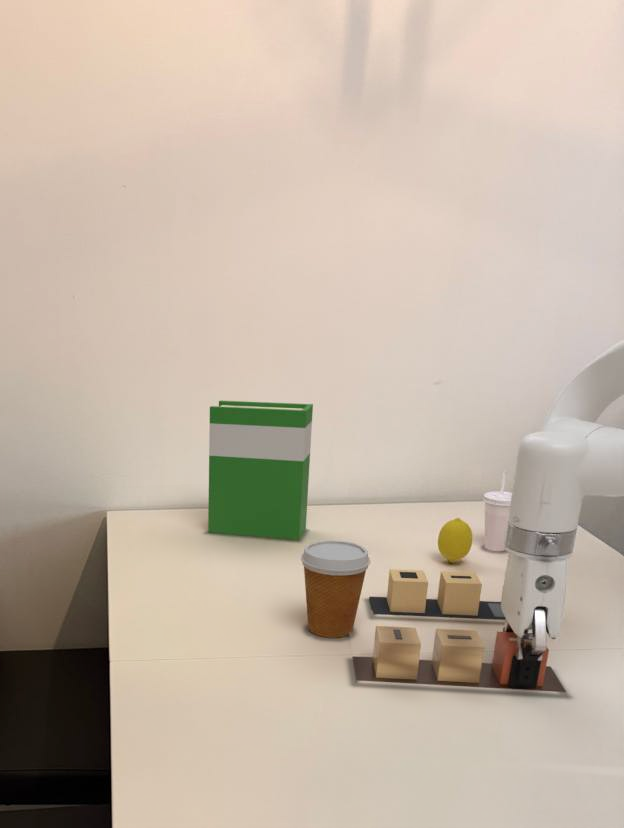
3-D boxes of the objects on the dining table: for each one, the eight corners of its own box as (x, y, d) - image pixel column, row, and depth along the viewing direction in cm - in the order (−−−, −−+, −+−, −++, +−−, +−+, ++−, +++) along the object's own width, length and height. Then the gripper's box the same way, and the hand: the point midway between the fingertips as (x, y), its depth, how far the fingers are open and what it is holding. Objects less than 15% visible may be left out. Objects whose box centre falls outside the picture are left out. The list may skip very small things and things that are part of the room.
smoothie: (504, 541, 160) (515, 466, 154) (520, 552, 154) (533, 475, 149) (470, 542, 159) (480, 468, 154) (485, 554, 154) (496, 476, 148)
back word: (538, 605, 132) (543, 571, 129) (550, 624, 125) (557, 588, 123) (369, 598, 135) (372, 565, 133) (373, 616, 129) (376, 581, 127)
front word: (550, 669, 112) (557, 630, 110) (565, 694, 106) (573, 653, 104) (352, 658, 116) (355, 621, 114) (356, 683, 109) (359, 643, 107)
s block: (532, 668, 111) (538, 632, 109) (542, 686, 107) (549, 649, 105) (491, 666, 112) (497, 630, 110) (500, 684, 108) (506, 647, 106)
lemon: (448, 555, 153) (453, 511, 150) (475, 563, 149) (482, 518, 146) (428, 561, 150) (433, 517, 147) (456, 570, 146) (462, 525, 143)
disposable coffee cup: (356, 647, 119) (363, 565, 114) (288, 636, 123) (293, 556, 118) (370, 622, 127) (377, 544, 122) (306, 612, 131) (311, 536, 126)
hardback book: (208, 532, 168) (209, 406, 159) (217, 521, 174) (220, 400, 165) (299, 540, 162) (306, 411, 153) (305, 528, 169) (313, 404, 160)
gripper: (596, 564, 94) (567, 711, 101) (552, 519, 110) (530, 649, 117) (523, 561, 95) (500, 707, 102) (490, 517, 111) (472, 646, 118)
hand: (516, 674), depth 109 cm, fingers closed on s block, 5 cm apart
